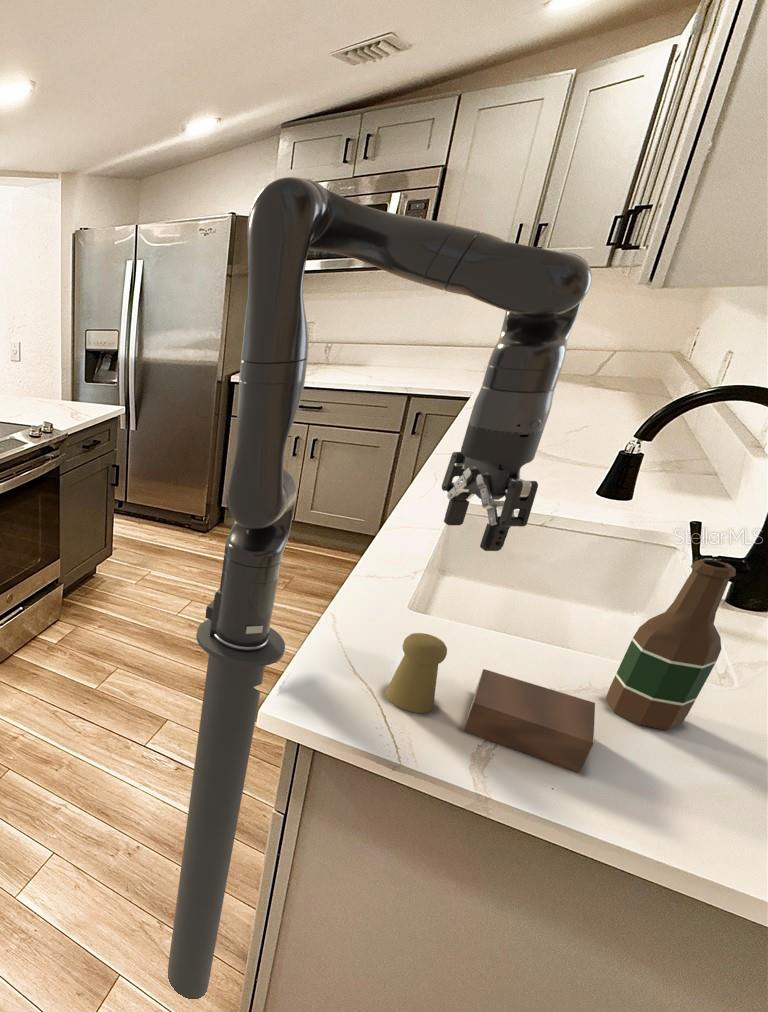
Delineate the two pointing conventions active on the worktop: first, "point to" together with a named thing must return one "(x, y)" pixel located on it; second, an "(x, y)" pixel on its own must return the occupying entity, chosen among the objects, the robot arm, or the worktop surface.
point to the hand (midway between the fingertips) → (470, 536)
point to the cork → (417, 673)
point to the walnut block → (532, 719)
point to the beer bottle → (672, 653)
